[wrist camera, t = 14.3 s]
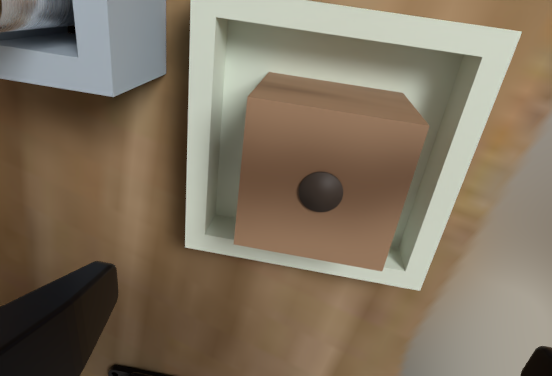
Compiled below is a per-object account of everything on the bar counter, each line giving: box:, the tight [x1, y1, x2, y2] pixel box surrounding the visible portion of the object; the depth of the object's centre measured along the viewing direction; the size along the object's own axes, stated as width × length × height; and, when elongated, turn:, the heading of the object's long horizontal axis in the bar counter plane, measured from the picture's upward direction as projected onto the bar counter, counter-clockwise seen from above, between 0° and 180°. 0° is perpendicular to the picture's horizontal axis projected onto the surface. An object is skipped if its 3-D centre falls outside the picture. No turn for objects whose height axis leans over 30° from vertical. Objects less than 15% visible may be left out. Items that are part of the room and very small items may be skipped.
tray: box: [185, 0, 522, 291], centre depth 18 cm, size 12×12×3 cm
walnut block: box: [234, 72, 429, 271], centre depth 16 cm, size 6×6×5 cm
